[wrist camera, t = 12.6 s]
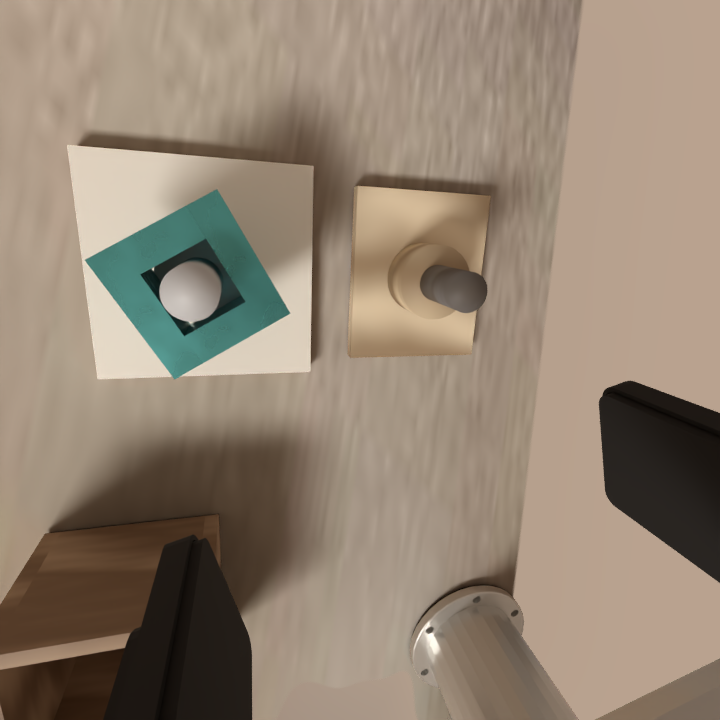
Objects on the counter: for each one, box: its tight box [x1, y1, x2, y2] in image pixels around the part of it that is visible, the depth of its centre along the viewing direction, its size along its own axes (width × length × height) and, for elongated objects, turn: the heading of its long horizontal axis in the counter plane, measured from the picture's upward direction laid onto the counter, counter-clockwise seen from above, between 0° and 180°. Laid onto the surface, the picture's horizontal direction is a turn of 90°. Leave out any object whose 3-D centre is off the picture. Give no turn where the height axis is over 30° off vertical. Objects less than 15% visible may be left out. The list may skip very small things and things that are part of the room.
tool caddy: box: [0, 514, 222, 720], centre depth 30 cm, size 12×12×10 cm
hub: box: [67, 145, 314, 379], centre depth 25 cm, size 14×14×10 cm
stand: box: [347, 186, 491, 358], centre depth 29 cm, size 12×10×8 cm
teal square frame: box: [85, 189, 290, 379], centre depth 23 cm, size 7×7×3 cm
